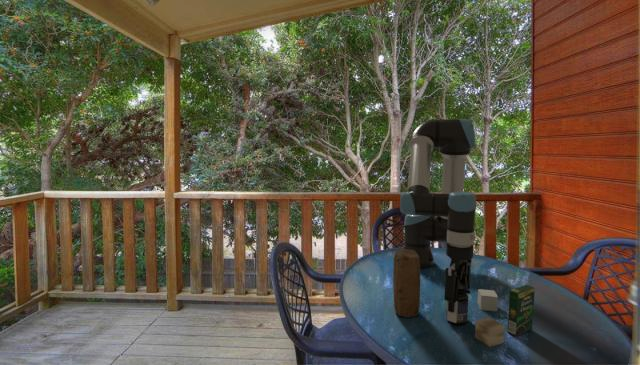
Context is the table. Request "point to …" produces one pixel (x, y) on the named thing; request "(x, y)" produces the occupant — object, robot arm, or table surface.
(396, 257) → the block
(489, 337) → the birch cube
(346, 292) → the table surface
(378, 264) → the table surface
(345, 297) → the table surface
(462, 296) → the pill bottle
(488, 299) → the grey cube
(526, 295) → the coffee box
